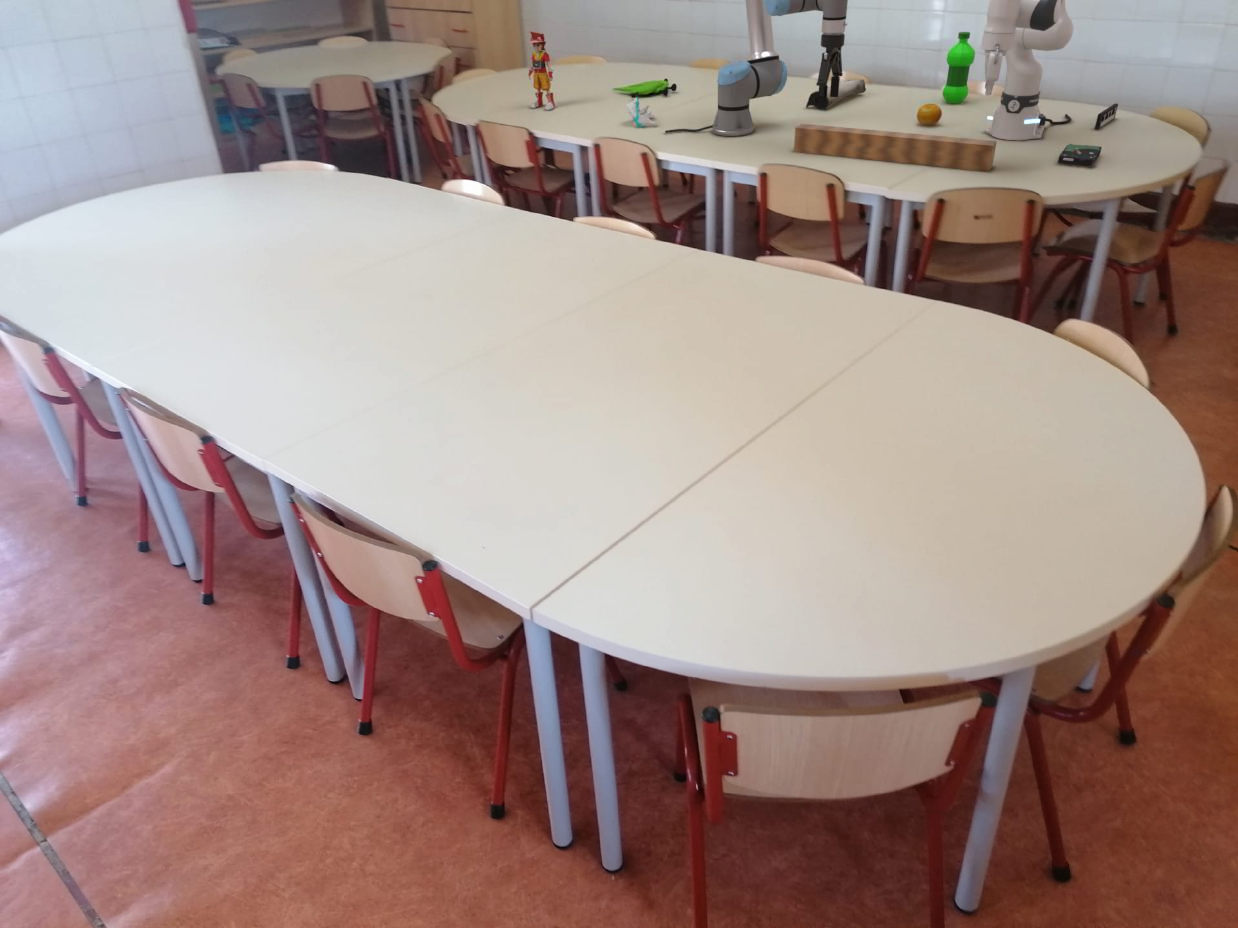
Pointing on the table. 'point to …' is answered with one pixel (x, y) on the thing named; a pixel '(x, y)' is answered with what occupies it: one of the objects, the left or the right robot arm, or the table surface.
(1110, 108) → the midi keyboard
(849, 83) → the rolled mat
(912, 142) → the bar
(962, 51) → the plastic bottle
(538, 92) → the toy
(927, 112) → the fruit
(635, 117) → the anatomical model
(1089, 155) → the disk drive
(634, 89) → the toy
